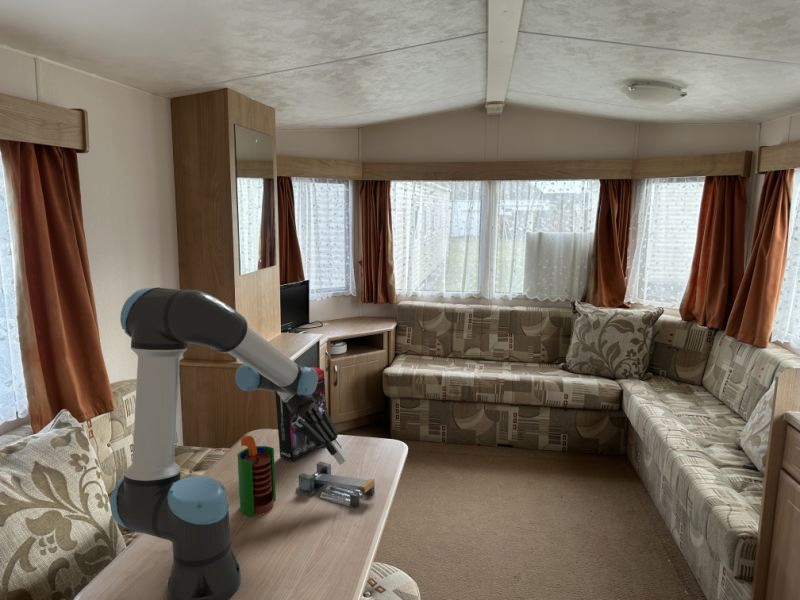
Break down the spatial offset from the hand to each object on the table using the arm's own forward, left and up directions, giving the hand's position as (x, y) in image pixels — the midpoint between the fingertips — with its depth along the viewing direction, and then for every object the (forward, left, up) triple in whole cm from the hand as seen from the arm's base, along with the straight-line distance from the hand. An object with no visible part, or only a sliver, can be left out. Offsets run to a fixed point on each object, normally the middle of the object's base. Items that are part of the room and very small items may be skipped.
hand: (344, 461), depth 159 cm
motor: (-17, +18, -10) cm, 26 cm away
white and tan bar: (0, +12, -8) cm, 14 cm away
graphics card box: (+17, +29, -10) cm, 35 cm away
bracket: (0, +4, -10) cm, 11 cm away
